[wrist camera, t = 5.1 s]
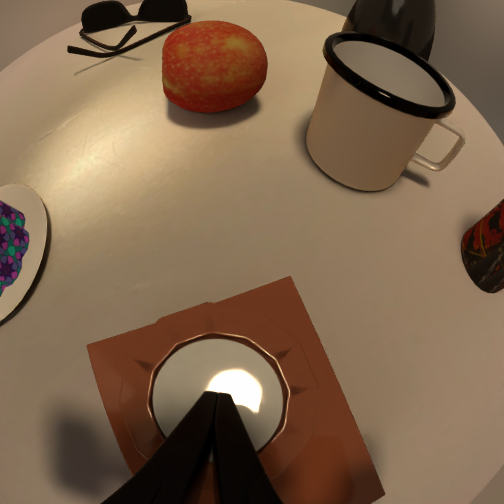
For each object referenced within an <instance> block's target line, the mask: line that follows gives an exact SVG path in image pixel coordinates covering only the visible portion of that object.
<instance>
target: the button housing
mask: <svg viewBox="0 0 504 504" xmlns="http://www.w3.org/2000/svg"><path fill="white" fill-rule="evenodd" d="M207 339H226V340H231V341H235V342H238V343H241V344H244V345H246V346H248V347H250V348H251V349H253V350H254V351H256V352H257V353H259V354H260V355H261V356H262V357H263V358H264V359H265V360H266V361H267V362H268V363H269V364H270V366H271V367H272V368H273V370H274V371H275V373H276V375H277V377H278V379H279V382H280V385H281V389H282V394H283V410H282V415H281V419H280V422H279V425H278V427H277V429H276V431H275V433H274V434H273V435H272V437H271V438H270V440H269V441H268V442H267V443H266V444H265V445H264V446H263V447H261V448H260V449H259V450H258V451H256V452H257V454H258V456H259V458H260V461H261V463H262V465H263V467H264V469H265V471H266V472H265V473H267V475H268V477H269V479H270V481H271V483H272V485H273V487H274V488H275V490H276V492H277V494H278V495H279V497H280V498H281V500H282V501H283V503H284V504H371V503H372V502H374V501H376V500H378V499H379V498H381V497H382V496H384V495H385V492H384V489H383V487H382V484H381V482H380V480H379V477H378V475H377V472H376V470H375V467H374V465H373V462H372V460H371V458H370V455H369V453H368V450H367V448H366V445H365V443H364V441H363V438H362V436H361V434H360V431H359V429H358V426H357V424H356V422H355V419H354V417H353V415H352V412H351V410H350V408H349V405H348V403H347V401H346V398H345V396H344V394H343V392H342V389H341V387H340V385H339V382H338V380H337V378H336V375H335V373H334V371H333V369H332V366H331V364H330V362H329V360H328V357H327V355H326V353H325V351H324V348H323V346H322V344H321V342H320V339H319V337H318V335H317V333H316V330H315V328H314V326H313V324H312V322H311V319H310V317H309V315H308V313H307V311H306V308H305V306H304V304H303V302H302V300H301V298H300V295H299V293H298V291H297V289H296V287H295V285H294V282H293V280H292V278H291V276H288V277H286V278H283V279H280V280H278V281H275V282H272V283H269V284H267V285H264V286H261V287H258V288H256V289H253V290H250V291H247V292H245V293H242V294H239V295H236V296H233V297H231V298H228V299H225V300H222V301H219V302H216V303H211V302H209V303H208V302H206V303H203V304H200V305H197V306H194V307H191V308H188V309H185V310H182V311H179V312H176V313H173V314H170V315H167V316H164V317H162V318H161V319H159V320H158V321H157V322H156V323H154V324H151V325H148V326H145V327H142V328H139V329H136V330H133V331H130V332H126V333H123V334H120V335H117V336H114V337H111V338H107V339H104V340H101V341H98V342H94V343H91V344H88V345H87V349H88V353H89V357H90V361H91V364H92V368H93V372H94V375H95V379H96V382H97V385H98V388H99V392H100V395H101V398H102V401H103V404H104V407H105V410H106V413H107V416H108V418H109V421H110V424H111V427H112V429H113V432H114V435H115V437H116V440H117V442H118V445H119V447H120V450H121V452H122V454H123V457H124V459H125V461H126V464H127V466H128V468H129V470H130V472H131V475H132V477H133V476H134V475H135V474H136V473H137V472H138V471H139V470H140V468H141V467H142V466H143V465H144V464H145V463H146V462H147V461H148V459H149V458H151V456H152V455H153V454H154V452H155V451H156V450H157V449H158V448H159V446H160V445H161V444H162V443H163V442H164V440H165V439H166V438H167V437H166V436H165V435H164V433H163V432H162V430H161V429H160V427H159V424H158V422H157V420H156V417H155V414H154V409H153V388H154V384H155V380H156V378H157V375H158V373H159V371H160V370H161V368H162V366H163V365H164V364H165V362H166V361H167V360H168V359H169V358H170V357H171V356H172V355H173V354H174V353H175V352H177V351H178V350H179V349H181V348H183V347H185V346H186V345H189V344H191V343H194V342H197V341H201V340H207ZM198 504H215V503H214V486H213V465H212V462H210V461H209V465H208V469H207V473H206V477H205V480H204V484H203V488H202V492H201V496H200V500H199V503H198Z"/></svg>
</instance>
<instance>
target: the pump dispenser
mask: <svg viewBox="0 0 504 504" xmlns="http://www.w3.org/2000/svg"><path fill="white" fill-rule="evenodd" d="M435 23H436V6H435V0H357V1H356V2H355V4H354V5H353V7H352V9H351V11H350V13H349V15H348V17H347V19H346V21H345V23H344V25H343V28H342V31H341V32H345V31H354V32H362V33H367V34H372V35H376V36H379V37H382V38H385V39H388V40H390V41H393V42H395V43H397V44H399V45H401V46H403V47H405V48H407V49H409V50H411V51H412V52H414V53H416V54H417V55H419V56H420V57H421V58H423V59H424V60H426V61H427V62H428V60H429V56H430V53H431V49H432V45H433V40H434V33H435Z"/></svg>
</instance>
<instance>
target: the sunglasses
mask: <svg viewBox="0 0 504 504" xmlns="http://www.w3.org/2000/svg"><path fill="white" fill-rule="evenodd" d="M190 20H191V16H190V15H188V10H187V3H186V1H185V0H144V1H143V2H142V4H141V6H140V8H139V12H138V15H135V16H132V15H130V13H129V12H128V10H127V9H126V8H125V7H124V6H123V4H122V3H120V2H118V1H102V2H98V3H96V4H93V5H90V6H88V7H87V8H86V9H85V10H84V11H83V13H82V18H81V21H82V26H83V29H81V31H80V32H79V34H80V36H82V37H83V38H85V39H86V40H88V41H89V42H91V43H93V44H95V45H97V46H99V47H101V48H104V49H107V50H112V51H114V52H110V53H99V52H94V51H90V50H86V49H82V48H78V47H73V46H69V45H68V46H67V51H68V53H73V54H79V55H85V56H91V57H97V58H107V57H112V56H115V55H118V54H121V53H123V52H126V51H128V50H130V49H132V48H135V47H137V46H139V45H141V44H143V43H145V42H147V41H149V40H152V39H154V38H156V37H158V36H160V35H162V34H165V33H167V32H169V31H171V30H173V29H175V28H178V27H180V26H182V25H184V24H186V23H188V22H190ZM132 21H150V22H178V23H176V24H174V25H172V26H169V27H167V28H165V29H163V30H161V31H159V32H156V33H154V34H152V35H150V36H148V37H146V38H144V39H142V40H140V41H138V42H135V43H133V44H131V45H129V46H127V47H124V48H122V49H120V48H121V47H123V46H124V45H125V44H126V42H127V41H128V40H129V39H130V38H131V37H132V36H133V35H134V34H135V33H136V32H137V30H136V27H135V25H134V26H132V27H131V29H130V30H129V31H128V32H127V34H126V35H125V36H124V38H123V39H122V40H121V42H120V43H119V44H118V45H116V46H108V45H105V44H102V43H100V42H97V41H95V40H94V39H92V38H90V37H88V36H87V35H85V34H84V33H88V32H94V31H100V30H104V29H108V28H112V27H115V26H118V25H122V24H125V23H128V22H132ZM179 21H181V22H179ZM118 49H119V50H118Z"/></svg>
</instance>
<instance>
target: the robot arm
mask: <svg viewBox="0 0 504 504" xmlns="http://www.w3.org/2000/svg"><path fill="white" fill-rule="evenodd" d="M212 446H213V447H212ZM211 453H212V465H213V486H214V503H215V504H284V503H283V501H282V500H281V498H280V497H279V495H278V494H277V492H276V490H275V488H274V487H273V485H272V483H271V481H270V479H269V477H268V475H267V473H265V472H266V471H265V469H264V467H263V465H262V463H261V461H260V458H259V456H258V454H257V452H256V450H255V448H254V445H253V443H252V441H251V439H250V437H249V434H248V432H247V430H246V428H245V425H244V423H243V421H242V419H241V416H240V414H239V412H238V409H237V407H236V405H235V402H234V400H233V398H232V395H231V394H229V393H221V392H219V393H218V394H217V392H213V391H204V392H203V393H202V395H201V396H200V397H199V399H198V400H197V401H196V402H195V404H194V405H193V406H192V407H191V409H190V410H189V411H188V412H187V414H186V415H185V416H184V417H183V419H182V420H181V421H180V422H179V423H178V425H177V426H176V427H175V428H174V430H173V431H172V432H171V433H170V434H169V436H168V437H167V438H166V439H165V440H164V442H163V443H162V444H161V445H160V446H159V448H158V449H157V450H156V451H155V452H154V454H153V455H152V456H151V458H149V459H148V461H147V462H146V463H145V464H144V465H143V466H142V467H141V468H140V470H139V471H138V472H137V473H136V474H135V475H134V476H133V477H132V478H131V479H130V480H129V481H127V482H126V483H125V484H124V485H123V486H122V487H121V488H119V489H118V490H117V491H116V492H114V493H113V494H112V495H111V496H110V497H108V498H107V499H106V500H105V501H103V502H102V503H101V504H198V503H199V500H200V496H201V492H202V488H203V484H204V480H205V477H206V473H207V469H208V465H209V461H210V457H211Z"/></svg>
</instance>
